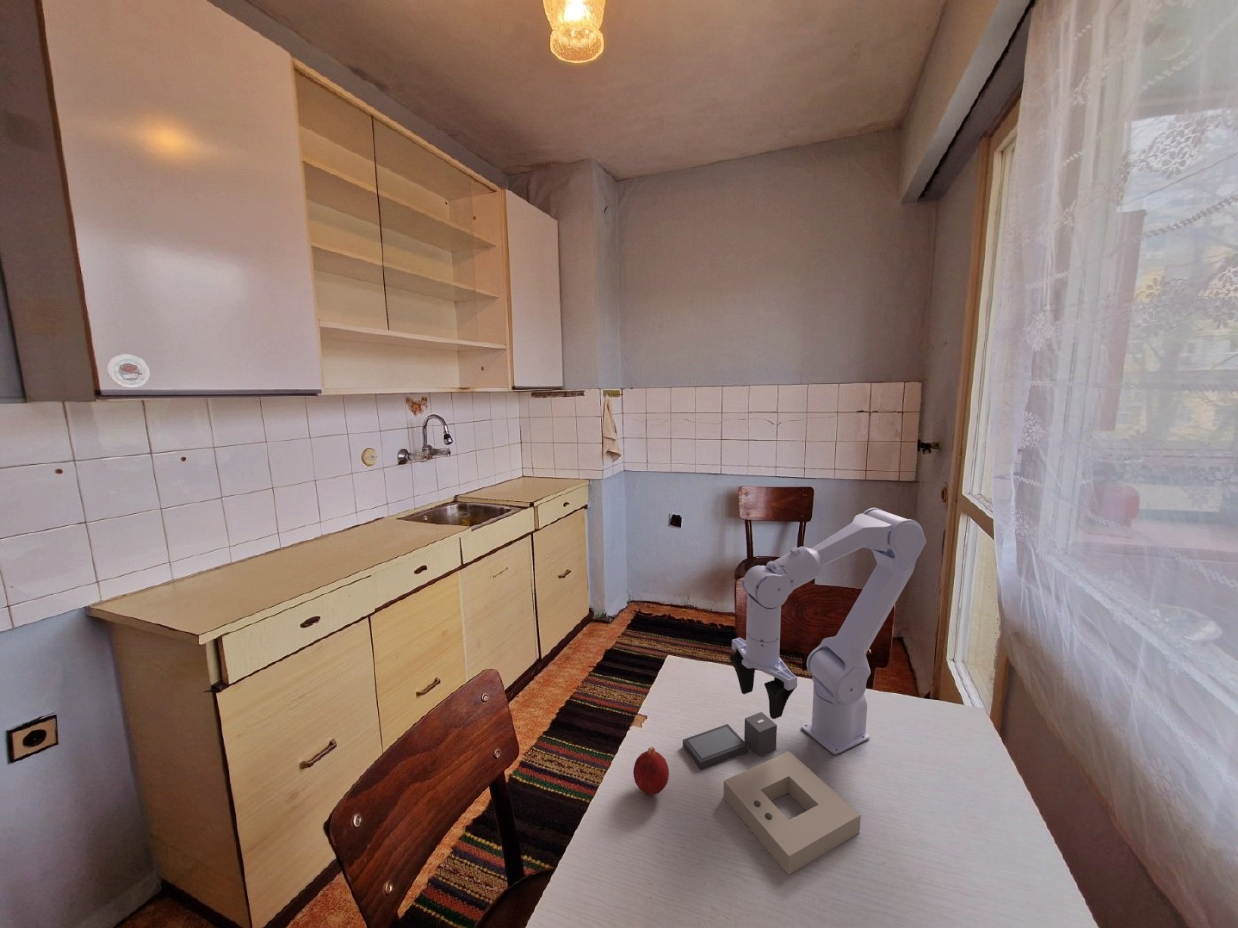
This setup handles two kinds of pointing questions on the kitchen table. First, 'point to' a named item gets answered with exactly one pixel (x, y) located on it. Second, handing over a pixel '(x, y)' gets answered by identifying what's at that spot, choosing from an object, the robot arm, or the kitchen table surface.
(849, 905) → the kitchen table surface
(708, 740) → the phone
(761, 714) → the block
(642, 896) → the kitchen table surface
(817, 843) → the outlet plate
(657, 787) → the onion
